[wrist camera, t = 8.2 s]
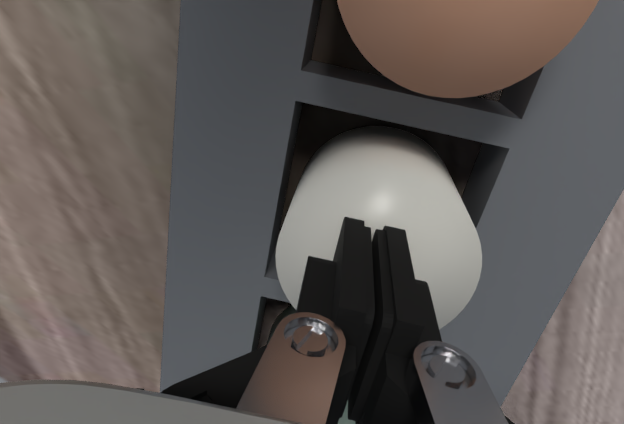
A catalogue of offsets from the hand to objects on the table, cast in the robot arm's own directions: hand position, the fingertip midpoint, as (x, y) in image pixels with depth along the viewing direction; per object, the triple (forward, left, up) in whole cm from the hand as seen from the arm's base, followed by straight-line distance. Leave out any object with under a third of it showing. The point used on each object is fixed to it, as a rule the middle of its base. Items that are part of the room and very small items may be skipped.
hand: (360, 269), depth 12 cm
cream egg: (0, 0, -5) cm, 5 cm away
